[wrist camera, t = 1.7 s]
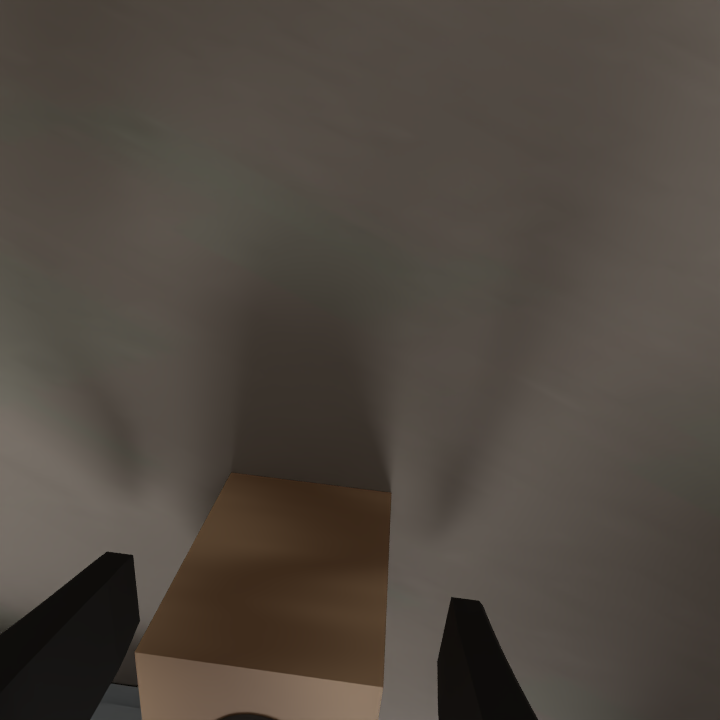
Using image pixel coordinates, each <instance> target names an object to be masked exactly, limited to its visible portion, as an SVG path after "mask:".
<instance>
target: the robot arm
mask: <svg viewBox="0 0 720 720" xmlns="http://www.w3.org/2000/svg"><path fill="white" fill-rule="evenodd" d="M139 622H140V617H139V608H138V598H137V588H136V579H135V569H134V560H133V555H128V554H121V553H113V552H106V553H105V554H103V555H102V556H101V557H99V558H98V559H97V560H95V561H94V562H93V563H92V564H90V565H89V566H88V567H87V568H85V569H84V570H83V571H82V572H80V573H79V574H78V575H77V576H75V577H74V578H73V579H72V580H70V581H69V582H68V583H67V584H65V585H64V586H63V587H61V588H60V589H59V590H58V591H56V592H55V593H54V594H53V595H51V596H50V597H49V598H48V599H46V600H45V601H44V602H42V603H41V604H40V605H39V606H37V607H36V608H35V609H33V610H32V611H31V612H29V613H28V614H27V615H26V616H24V617H23V618H22V619H20V620H19V621H18V622H16V623H15V624H14V625H13V626H11V627H10V628H9V629H7V630H6V631H5V632H3V633H2V634H0V720H90V719H91V718H92V716H93V714H94V712H95V711H96V709H97V707H98V705H99V704H100V702H101V700H102V698H103V696H104V695H105V693H106V691H107V689H108V688H109V686H110V684H111V682H112V680H113V679H114V677H115V675H116V673H117V671H118V670H119V668H120V665H121V663H122V661H123V659H124V657H125V654H126V652H127V650H128V648H129V645H130V643H131V641H132V638H133V636H134V633H135V631H136V629H137V626H138V624H139ZM437 667H438V716H439V720H538V719H537V717H536V715H535V713H534V711H533V710H532V708H531V706H530V704H529V702H528V700H527V698H526V696H525V694H524V693H523V691H522V689H521V687H520V685H519V683H518V681H517V679H516V677H515V675H514V673H513V671H512V669H511V667H510V665H509V663H508V661H507V659H506V657H505V655H504V653H503V651H502V649H501V646H500V644H499V642H498V640H497V638H496V635H495V633H494V631H493V629H492V626H491V624H490V622H489V619H488V617H487V615H486V612H485V610H484V607H483V605H482V604H481V603H480V601H476V600H469V599H461V598H453V597H451V601H450V605H449V610H448V615H447V619H446V624H445V629H444V633H443V638H442V643H441V647H440V652H439V657H438V661H437Z"/></svg>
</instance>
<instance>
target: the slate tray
mask: <svg viewBox="0 0 720 720" xmlns="http://www.w3.org/2000/svg"><path fill="white" fill-rule="evenodd" d="M90 720H142V715H141V706H140V697H139V688H138V687H131V686H124V685H117V684H110V686H109V688H108V689H107V691H106V693H105V695H104V696H103V698H102V700H101V702H100V704H99V705H98V707H97V709H96V711H95V712H94V714H93V716H92V718H91V719H90Z"/></svg>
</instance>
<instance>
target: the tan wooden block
mask: <svg viewBox="0 0 720 720" xmlns="http://www.w3.org/2000/svg"><path fill="white" fill-rule="evenodd" d="M390 512H391V493H389V492H381V491H374V490H366V489H358V488H350V487H342V486H334V485H326V484H318V483H310V482H302V481H294V480H286V479H279V478H271V477H263V476H255V475H247V474H239V473H231V474H230V476H229V478H228V479H227V481H226V483H225V485H224V487H223V489H222V491H221V492H220V494H219V496H218V498H217V500H216V502H215V504H214V505H213V507H212V509H211V511H210V513H209V515H208V517H207V518H206V520H205V522H204V524H203V526H202V528H201V530H200V531H199V533H198V535H197V537H196V539H195V541H194V543H193V544H192V546H191V548H190V550H189V552H188V554H187V556H186V558H185V559H184V561H183V563H182V565H181V567H180V569H179V571H178V572H177V574H176V576H175V578H174V580H173V582H172V584H171V585H170V587H169V589H168V591H167V593H166V595H165V597H164V598H163V600H162V602H161V604H160V606H159V608H158V610H157V611H156V613H155V615H154V617H153V619H152V621H151V623H150V624H149V626H148V628H147V630H146V632H145V634H144V636H143V637H142V639H141V641H140V643H139V645H138V647H137V649H136V650H135V661H136V670H137V679H138V688H139V697H140V706H141V715H142V720H378V717H379V710H380V704H381V698H382V692H383V679H384V655H385V631H386V608H387V584H388V560H389V536H390Z"/></svg>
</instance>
